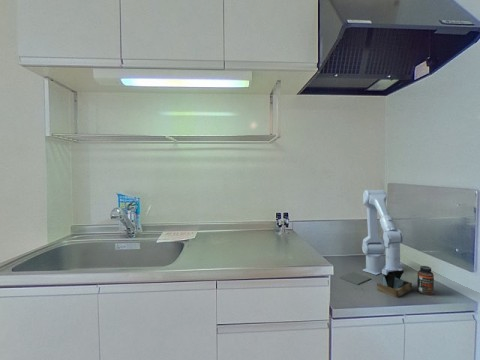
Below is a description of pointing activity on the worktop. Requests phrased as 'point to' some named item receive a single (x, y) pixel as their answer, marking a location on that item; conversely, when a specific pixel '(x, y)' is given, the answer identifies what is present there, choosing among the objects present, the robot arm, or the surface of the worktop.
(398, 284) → the block
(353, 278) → the mat
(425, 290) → the supplement bottle
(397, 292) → the arch frame
